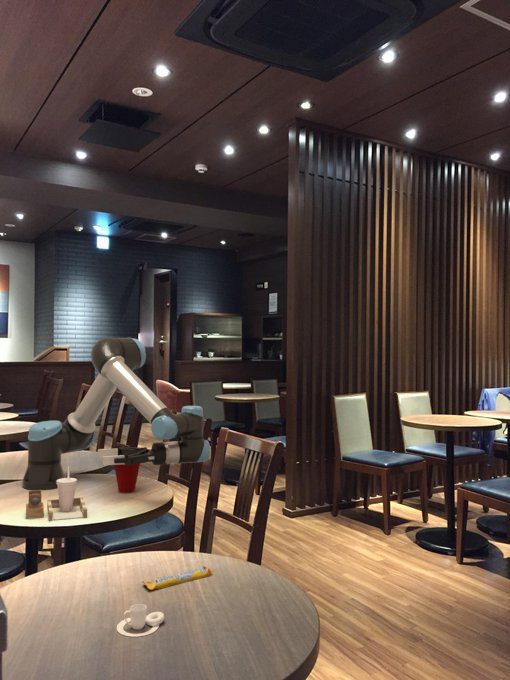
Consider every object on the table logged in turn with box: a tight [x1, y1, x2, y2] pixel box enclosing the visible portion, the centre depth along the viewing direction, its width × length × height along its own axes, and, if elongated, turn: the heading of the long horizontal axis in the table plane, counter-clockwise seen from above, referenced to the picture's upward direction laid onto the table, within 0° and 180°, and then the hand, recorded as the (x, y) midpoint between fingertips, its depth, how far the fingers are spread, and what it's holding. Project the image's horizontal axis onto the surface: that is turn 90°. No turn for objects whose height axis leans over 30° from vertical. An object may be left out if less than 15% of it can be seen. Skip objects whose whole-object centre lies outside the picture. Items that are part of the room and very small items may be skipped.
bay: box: [46, 496, 88, 522], centre depth 182 cm, size 15×11×2 cm
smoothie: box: [56, 466, 78, 513], centre depth 185 cm, size 6×6×14 cm
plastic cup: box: [113, 456, 141, 494], centre depth 210 cm, size 11×11×12 cm
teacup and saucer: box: [116, 603, 165, 638], centre depth 110 cm, size 9×8×4 cm
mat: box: [53, 511, 83, 521], centre depth 178 cm, size 6×8×1 cm
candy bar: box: [141, 565, 214, 591], centre depth 132 cm, size 17×4×2 cm, turn 126°
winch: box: [25, 490, 45, 520], centre depth 179 cm, size 6×5×7 cm
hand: (100, 457), depth 188 cm, fingers open, 13 cm apart
